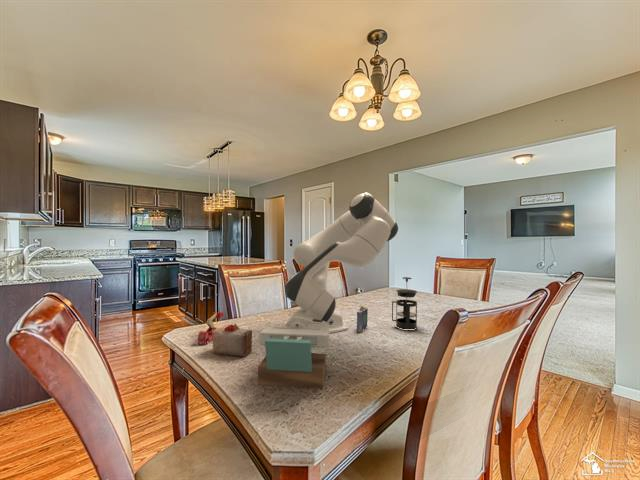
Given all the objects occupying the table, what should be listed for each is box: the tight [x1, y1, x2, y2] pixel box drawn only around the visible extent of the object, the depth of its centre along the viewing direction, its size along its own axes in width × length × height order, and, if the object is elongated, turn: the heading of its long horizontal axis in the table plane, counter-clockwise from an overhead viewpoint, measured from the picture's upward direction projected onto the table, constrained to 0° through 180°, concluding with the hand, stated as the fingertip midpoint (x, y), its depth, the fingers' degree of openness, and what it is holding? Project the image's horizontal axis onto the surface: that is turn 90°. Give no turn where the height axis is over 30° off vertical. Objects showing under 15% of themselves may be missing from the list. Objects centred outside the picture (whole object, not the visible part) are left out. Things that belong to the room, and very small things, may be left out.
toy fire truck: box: [197, 311, 225, 345], centre depth 117 cm, size 3×14×10 cm, turn 168°
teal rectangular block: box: [264, 338, 312, 372], centre depth 78 cm, size 1×12×9 cm, turn 83°
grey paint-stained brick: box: [212, 323, 253, 358], centre depth 104 cm, size 14×8×10 cm, turn 75°
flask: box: [356, 304, 369, 333], centre depth 131 cm, size 9×3×11 cm, turn 151°
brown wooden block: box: [257, 352, 327, 389], centre depth 86 cm, size 11×18×5 cm, turn 84°
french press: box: [391, 276, 418, 329], centre depth 134 cm, size 12×9×23 cm
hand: (289, 345), depth 78 cm, fingers closed, pressing on teal rectangular block
